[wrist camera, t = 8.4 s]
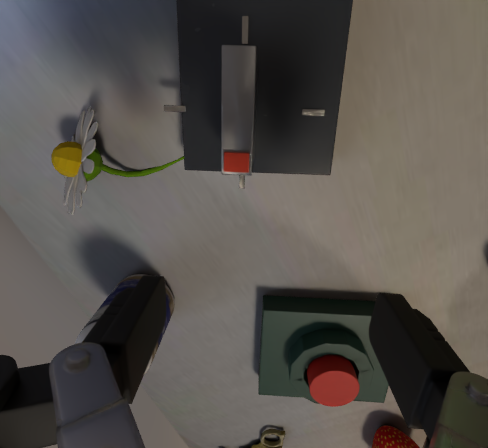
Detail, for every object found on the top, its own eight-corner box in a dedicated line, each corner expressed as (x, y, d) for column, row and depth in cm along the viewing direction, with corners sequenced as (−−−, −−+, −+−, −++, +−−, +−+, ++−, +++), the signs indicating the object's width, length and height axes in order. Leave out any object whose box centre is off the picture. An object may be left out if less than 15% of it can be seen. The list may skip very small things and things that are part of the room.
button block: (396, 302, 28) (416, 333, 25) (376, 383, 32) (391, 421, 28) (263, 295, 29) (263, 324, 25) (258, 376, 33) (258, 412, 29)
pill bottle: (184, 315, 30) (150, 412, 21) (131, 327, 31) (75, 424, 22) (162, 265, 28) (113, 347, 19) (105, 279, 29) (33, 363, 20)
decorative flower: (227, 107, 17) (11, 214, 20) (262, 169, 22) (89, 245, 25) (200, 23, 20) (20, 125, 23) (236, 94, 26) (87, 169, 29)
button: (357, 355, 26) (363, 372, 25) (350, 390, 28) (355, 408, 26) (309, 352, 27) (312, 369, 25) (304, 387, 28) (307, 405, 26)
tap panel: (345, -26, 20) (360, -47, 17) (321, 180, 25) (328, 191, 22) (169, -28, 20) (153, -49, 17) (180, 175, 25) (169, 185, 22)
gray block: (231, 57, 19) (220, 43, 14) (258, 57, 19) (256, 44, 14) (230, 157, 21) (220, 175, 16) (254, 158, 21) (251, 176, 16)
